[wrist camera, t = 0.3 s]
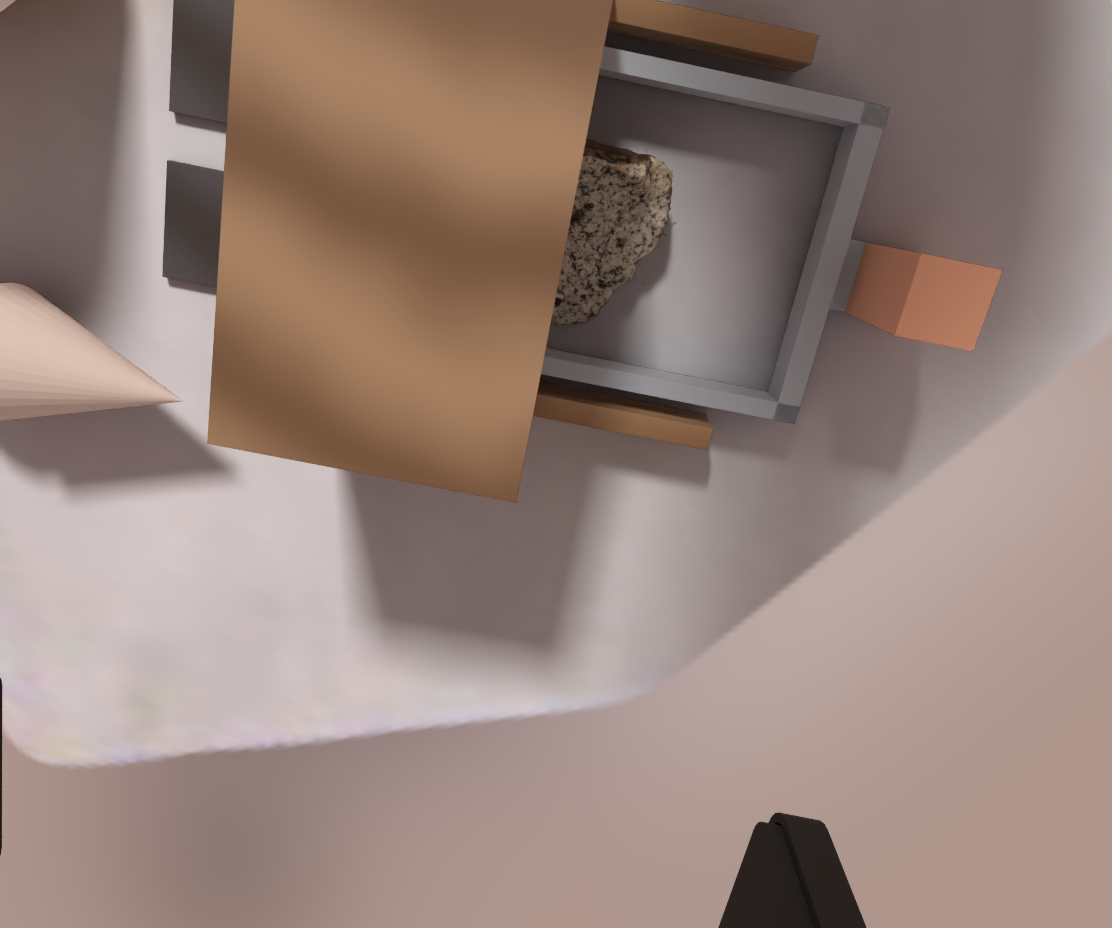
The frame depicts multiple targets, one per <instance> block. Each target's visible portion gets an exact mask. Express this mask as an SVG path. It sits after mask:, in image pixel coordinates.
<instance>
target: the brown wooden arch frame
mask: <svg viewBox="0 0 1112 928" xmlns="http://www.w3.org/2000/svg"><path fill="white" fill-rule="evenodd" d="M607 31H608V32H613V33H617V34H622V35H627V36H631V37H636V38H641V39H645V40H650V41H655V42H659V43H664V44H669V45H673V46H678V47H683V48H687V49H692V50H697V51H701V52H706V53H711V54H715V55H720V56H725V57H729V58H734V59H739V60H743V61H748V62H753V63H757V64H762V65H767V66H771V67H776V68H781V69H785V70H790V71H795V72H796V71H798V70H800V69H802V68H804V67H806V66H808V65H810V64H811V62H812V59H813V55H814V51H815V47H816V44H817V40H818V36H819V35H814V34H810V33H805V32H801V31H796V30H791V29H787V28H782V27H778V26H773V25H768V24H764V23H759V22H754V21H750V20H745V19H741V18H736V17H731V16H727V15H722V14H717V13H713V12H708V11H704V10H699V9H694V8H690V7H685V6H680V5H676V4H671V3H667V2H662V1H657V0H174V5H173V30H172V54H171V79H170V104H169V111H172V112H176V113H181V114H186V115H191V116H196V117H201V118H205V119H210V120H215V121H220V122H225V123H227V133H226V149H225V165H224V171H219V170H215V169H210V168H205V167H200V166H195V165H190V164H185V163H180V162H175V161H168V160H167V178H166V203H165V228H164V252H163V277H166V278H171V279H177V280H182V281H187V282H192V283H197V284H202V285H207V286H212V287H217V295H216V312H215V328H214V344H213V360H212V377H211V393H210V409H209V425H208V442H207V444H212V445H217V446H222V447H228V448H233V449H238V450H243V451H249V452H254V453H259V454H264V455H270V456H275V457H280V458H285V459H291V460H296V461H301V462H306V463H312V464H317V465H322V466H327V467H333V468H338V469H343V470H348V471H354V472H359V473H364V474H369V475H375V476H380V477H385V478H390V479H396V480H401V481H406V482H411V483H417V484H422V485H427V486H432V487H438V488H443V489H448V490H453V491H459V492H464V493H469V494H474V495H480V496H485V497H490V498H495V499H501V500H506V501H511V502H516V500H517V495H518V489H519V484H520V479H521V474H522V469H523V464H524V458H525V453H526V448H527V443H528V438H529V432H530V427H531V422H532V417H533V416H537V417H542V418H547V419H552V420H557V421H562V422H568V423H573V424H578V425H583V426H588V427H593V428H598V429H603V430H609V431H614V432H619V433H624V434H629V435H634V436H639V437H645V438H650V439H655V440H660V441H665V442H670V443H675V444H680V445H686V446H691V447H696V448H701V449H706V450H708V447H709V443H710V439H711V436H712V432H713V427H712V426H711V424H710V422H709V420H708V418H707V417H706V415H705V414H700V413H695V412H690V411H685V410H679V409H674V408H669V407H664V406H659V405H654V404H649V403H644V402H639V401H634V400H629V399H624V398H618V397H613V396H608V395H603V394H598V393H593V392H588V391H583V390H578V389H573V388H568V387H562V386H557V385H552V384H547V383H542V382H539V381H540V375H541V370H542V365H543V360H544V355H545V350H546V344H547V339H548V334H549V329H550V324H551V318H552V313H553V308H554V303H555V298H556V293H557V287H558V282H559V277H560V272H561V267H562V262H563V256H564V251H565V246H566V241H567V236H568V230H569V225H570V220H571V215H572V210H573V205H574V199H575V194H576V189H577V184H578V179H579V173H580V168H581V163H582V158H583V153H584V148H585V142H586V137H587V132H588V127H589V122H590V116H591V111H592V106H593V101H594V96H595V91H596V85H597V80H598V75H599V70H600V65H601V60H602V54H603V49H604V44H605V39H606V34H607Z"/></svg>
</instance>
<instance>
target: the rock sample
mask: <svg viewBox="0 0 1112 928" xmlns="http://www.w3.org/2000/svg"><path fill="white" fill-rule="evenodd" d="M645 150H646V149H645ZM672 172H673V171H672ZM672 176H673V175H672V173H671V171H670V170H669V169H668V168H667V167H666V166H665V164H664V162H660V161H659V160H658V159H657V158H656V157H654V156H651V155H647V154H637V153H635V152H632V151H630V150H628V149H620V148H616V147H612V146H608V145H604V144H601V143H599V142H596V141H592V140H588V139H586V142H585V148H584V153H583V158H582V163H581V168H580V173H579V179H578V184H577V189H576V194H575V199H574V205H573V210H572V215H571V220H570V225H569V230H568V236H567V241H566V246H565V251H564V256H563V262H562V267H561V272H560V277H559V282H558V287H557V293H556V298H555V303H554V308H553V313H552V318H551V323H553V324H555V325H559V324H560V325H564V324H577V323H581V324H582V323H585V322H588V321H589V320H590V319H592V318H593V317H595V316H597V314H598V313H599V311H600V309H601V308H602V307H603V306H604V305H605V304H606V302H607V300H608V298H609V297H610V296H611V295H612V293H613V291H614V290H615V289H616V288H617V287H618V286H619V285H622V284H624V283H626V282H628V281H630V280H632V278H633V276H634V274H635V271H636V267H637V263H638V259H640V258H642V257H644V256H646V255H648V254H650V253H651V252H652V251H653V250H654V249H655V248H656V247H657V245H658V244H659V243H660V239H661V235H662V234H663V229H664V227H665V225H666V223H667V218H668V211H669V210H670V209H671V208H670V203H671V199H670V197H671V194H672V187H671V186H672V185H671V184H672ZM676 223H677V222H675V223H674V224H676ZM664 235H665V234H664ZM635 280H636V279H635ZM643 284H644V283H643Z"/></svg>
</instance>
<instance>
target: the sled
mask: <svg viewBox="0 0 1112 928" xmlns="http://www.w3.org/2000/svg"><path fill="white" fill-rule="evenodd" d="M599 75H601V76H606V77H610V78H615V79H620V80H625V81H629V82H634V83H639V84H643V85H648V86H653V87H658V88H662V89H667V90H672V91H676V92H681V93H686V94H691V95H695V96H700V97H705V98H709V99H714V100H719V101H724V102H728V103H733V104H738V105H742V106H747V107H752V108H757V109H761V110H766V111H771V112H775V113H780V114H785V115H790V116H794V117H799V118H804V119H808V120H813V121H818V122H823V123H827V124H832V125H837V126H841V127H844V128H843V131H842V135H841V138H840V142H839V145H838V149H837V152H836V156H835V159H834V163H833V166H832V170H831V173H830V177H829V180H828V184H827V187H826V191H825V194H824V198H823V201H822V205H821V208H820V212H819V215H818V219H817V222H816V226H815V229H814V233H813V236H812V240H811V243H810V247H809V250H808V254H807V257H806V261H805V264H804V268H803V271H802V275H801V278H800V282H799V285H798V289H797V292H796V296H795V299H794V303H793V306H792V310H791V313H790V317H789V320H788V324H787V327H786V331H785V334H784V338H783V341H782V345H781V348H780V352H779V355H778V359H777V362H776V366H775V369H774V373H773V376H772V380H771V383H770V387H769V390H768V392H766V391H761V390H756V389H751V388H746V387H741V386H736V385H731V384H726V383H721V382H716V381H711V380H706V379H701V378H696V377H691V376H685V375H680V374H675V373H670V372H665V371H660V370H655V369H650V368H645V367H640V366H635V365H630V364H625V363H620V362H615V361H610V360H605V359H600V358H595V357H590V356H585V355H580V354H575V353H569V352H564V351H559V350H554V349H549V348H546V350H545V355H544V360H543V365H542V370H541V374H543V375H548V376H553V377H558V378H563V379H568V380H573V381H578V382H584V383H589V384H594V385H599V386H604V387H609V388H614V389H619V390H624V391H629V392H634V393H639V394H644V395H650V396H655V397H660V398H665V399H670V400H675V401H680V402H685V403H690V404H695V405H700V406H705V407H710V408H716V409H721V410H726V411H731V412H736V413H741V414H746V415H751V416H756V417H761V418H766V419H771V420H776V421H782V422H787V423H792V424H795V422H796V419H797V415H798V412H799V409H800V405H801V402H802V399H803V395H804V392H805V389H806V385H807V382H808V379H809V375H810V372H811V369H812V365H813V362H814V359H815V355H816V352H817V349H818V345H819V342H820V339H821V335H822V332H823V329H824V325H825V322H826V319H827V315H828V312H829V309H833V310H838V311H843V312H846V313H848V314H850V315H852V316H854V317H856V318H858V319H860V320H863V321H865V322H867V323H869V324H871V325H873V326H875V327H877V328H879V329H882V330H884V331H886V332H888V333H890V334H892V335H894V336H899V337H903V338H908V339H913V340H918V341H923V342H928V343H933V344H938V345H943V346H948V347H953V348H958V349H963V350H968V351H973V350H974V347H975V345H976V342H977V339H978V336H979V334H980V331H981V328H982V325H983V323H984V320H985V317H986V314H987V312H988V309H989V306H990V303H991V301H992V298H993V295H994V292H995V290H996V287H997V284H998V281H999V278H1000V276H1001V273H1002V270H1000V269H995V268H990V267H985V266H981V265H976V264H971V263H966V262H961V261H956V260H952V259H947V258H942V257H937V256H932V255H927V254H923V253H918V252H913V251H908V250H903V249H897V248H892V247H887V246H882V245H877V244H872V243H867V242H862V241H858V240H853V239H851V236H852V232H853V229H854V226H855V222H856V219H857V216H858V212H859V209H860V206H861V202H862V199H863V196H864V192H865V189H866V186H867V182H868V179H869V176H870V172H871V169H872V166H873V162H874V159H875V156H876V152H877V149H878V146H879V142H880V139H881V136H882V132H883V129H884V126H885V122H886V119H887V116H888V113H889V109H890V107H886V106H882V105H877V104H872V103H867V102H863V101H858V100H853V99H849V98H844V97H839V96H835V95H830V94H825V93H821V92H816V91H811V90H807V89H802V88H797V87H793V86H788V85H783V84H779V83H774V82H769V81H764V80H760V79H755V78H750V77H746V76H741V75H736V74H732V73H727V72H722V71H718V70H713V69H708V68H704V67H699V66H694V65H690V64H685V63H680V62H676V61H671V60H666V59H661V58H657V57H652V56H647V55H643V54H638V53H633V52H629V51H624V50H619V49H615V48H610V47H605V46H604V49H603V54H602V60H601V65H600V70H599Z"/></svg>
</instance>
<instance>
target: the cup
mask: <svg viewBox="0 0 1112 928" xmlns="http://www.w3.org/2000/svg"><path fill="white" fill-rule="evenodd" d="M14 1H16V0H0V12H1V11H3V10H4V9H5V8H7V7H8V6H9V5H10V4H12V3H13V2H14Z"/></svg>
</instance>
